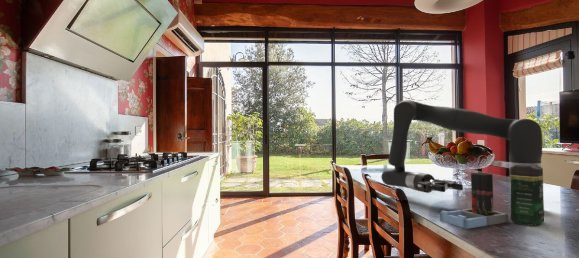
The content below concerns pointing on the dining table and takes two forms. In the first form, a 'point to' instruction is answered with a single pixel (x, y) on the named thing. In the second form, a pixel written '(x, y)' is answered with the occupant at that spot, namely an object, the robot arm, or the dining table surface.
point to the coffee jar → (527, 194)
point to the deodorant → (482, 194)
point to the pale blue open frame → (472, 218)
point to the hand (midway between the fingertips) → (453, 188)
